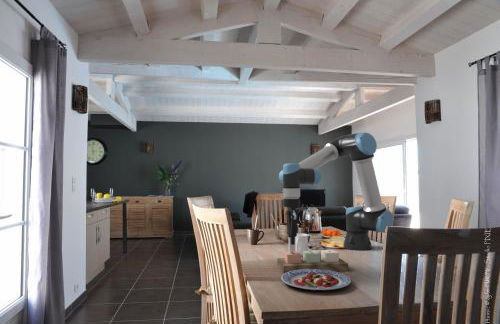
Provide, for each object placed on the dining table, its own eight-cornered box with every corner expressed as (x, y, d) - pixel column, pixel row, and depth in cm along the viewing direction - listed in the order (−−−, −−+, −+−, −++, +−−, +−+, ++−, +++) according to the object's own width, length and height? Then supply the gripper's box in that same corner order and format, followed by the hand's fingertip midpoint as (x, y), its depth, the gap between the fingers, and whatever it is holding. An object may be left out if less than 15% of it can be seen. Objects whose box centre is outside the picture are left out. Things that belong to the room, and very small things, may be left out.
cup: (309, 253, 181) (308, 233, 182) (305, 258, 170) (305, 237, 170) (293, 252, 184) (293, 233, 184) (289, 257, 172) (288, 236, 173)
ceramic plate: (303, 270, 148) (303, 263, 148) (361, 281, 131) (361, 273, 131) (267, 285, 128) (267, 277, 128) (331, 300, 111) (331, 291, 112)
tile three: (297, 261, 154) (297, 251, 155) (301, 264, 148) (300, 254, 149) (284, 261, 154) (284, 251, 154) (287, 265, 148) (287, 254, 148)
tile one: (334, 259, 156) (333, 249, 156) (338, 262, 150) (338, 252, 151) (321, 260, 156) (321, 250, 156) (325, 263, 150) (325, 253, 150)
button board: (336, 262, 160) (336, 256, 161) (348, 270, 147) (347, 263, 147) (277, 264, 157) (277, 258, 157) (283, 273, 143) (283, 265, 144)
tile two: (315, 260, 155) (315, 250, 156) (320, 263, 149) (319, 253, 150) (303, 261, 155) (302, 250, 155) (306, 264, 149) (306, 253, 149)
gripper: (280, 197, 159) (280, 248, 157) (286, 198, 146) (286, 255, 144) (296, 197, 159) (296, 248, 158) (303, 198, 146) (304, 254, 145)
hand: (292, 251), depth 151 cm, fingers closed
